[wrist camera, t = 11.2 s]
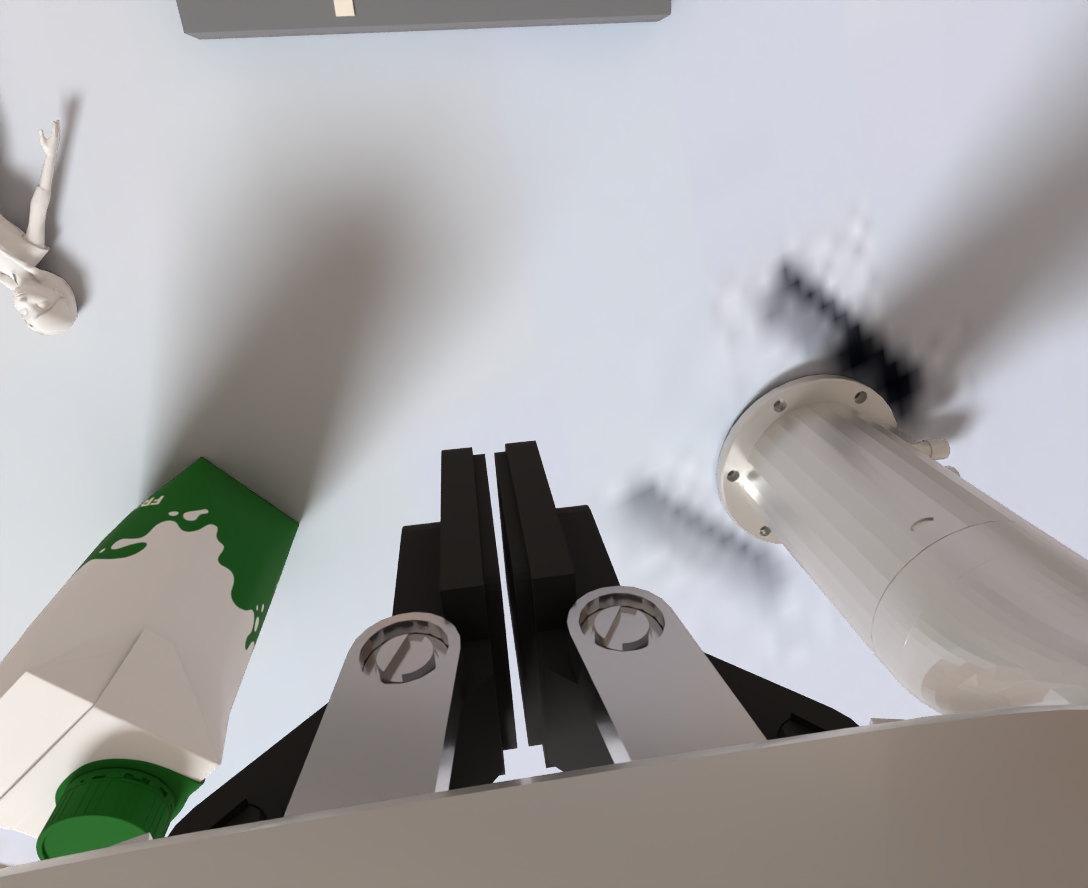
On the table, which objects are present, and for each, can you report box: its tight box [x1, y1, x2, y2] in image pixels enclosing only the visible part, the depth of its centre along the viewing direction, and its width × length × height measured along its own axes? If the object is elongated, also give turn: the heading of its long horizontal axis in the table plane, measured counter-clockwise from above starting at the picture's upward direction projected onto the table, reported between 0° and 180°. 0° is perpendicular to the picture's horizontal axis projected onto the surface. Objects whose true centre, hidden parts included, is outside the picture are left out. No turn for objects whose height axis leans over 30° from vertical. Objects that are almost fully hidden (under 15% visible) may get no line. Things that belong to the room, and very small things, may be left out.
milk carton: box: [0, 457, 299, 860], centre depth 32 cm, size 9×9×20 cm
